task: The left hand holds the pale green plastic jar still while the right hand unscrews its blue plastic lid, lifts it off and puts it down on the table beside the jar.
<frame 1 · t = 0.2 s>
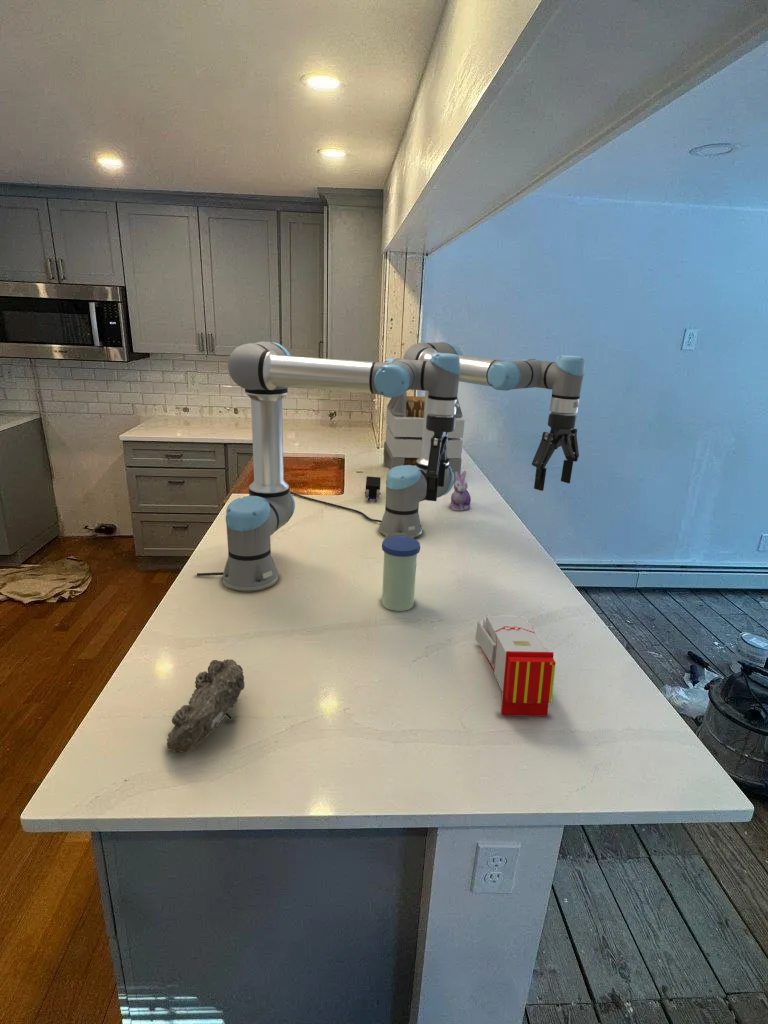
left hand: (435, 493, 154), 28 cm above the counter, tool pointing down, fingers open, 13 cm apart
right hand: (552, 485, 166), 28 cm above the counter, tool pointing down, fingers open, 13 cm apart
jar: (397, 603, 153), on the counter
figurine character: (372, 498, 236), on the counter
grey boxy piece: (419, 473, 275), on the counter
toy: (507, 674, 125), on the counter
lid: (401, 544, 147), point 17 cm above the counter, screwed on, not yet turned
figurine: (460, 507, 229), on the counter
fossil: (212, 717, 108), on the counter
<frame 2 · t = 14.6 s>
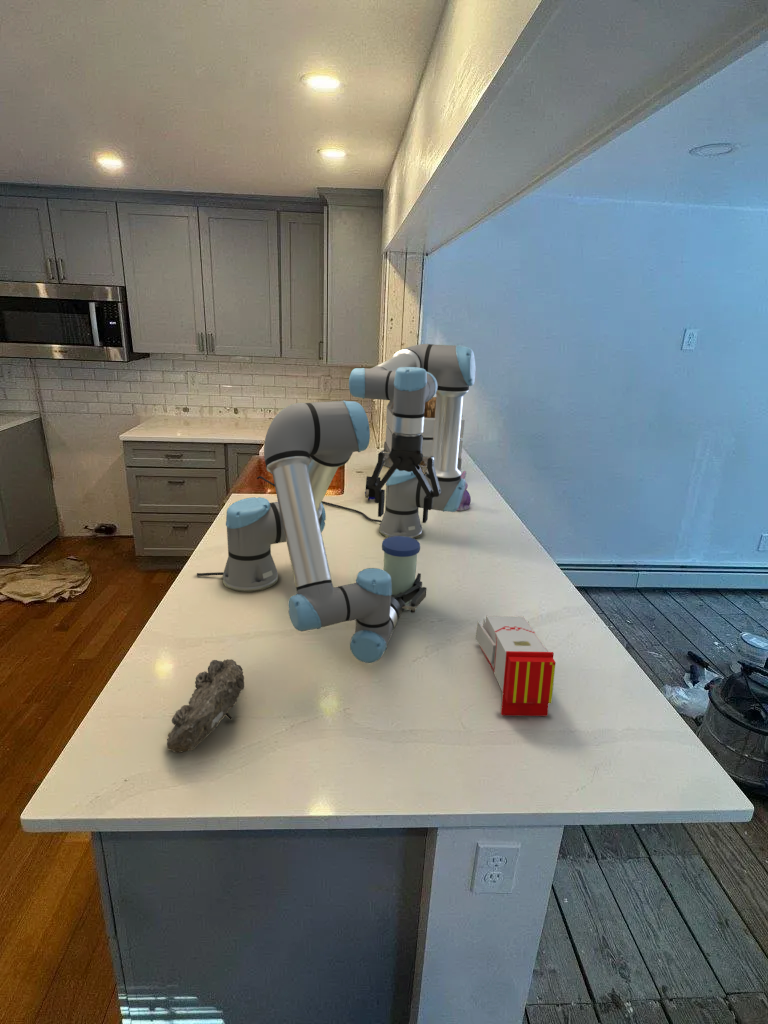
left hand: (402, 575, 155), 6 cm above the counter, tool horizontal, fingers closed on jar, 9 cm apart
right hand: (402, 518, 145), 24 cm above the counter, tool pointing down, fingers open, 11 cm apart
jar: (397, 603, 153), on the counter, touching left hand
everything else where it was.
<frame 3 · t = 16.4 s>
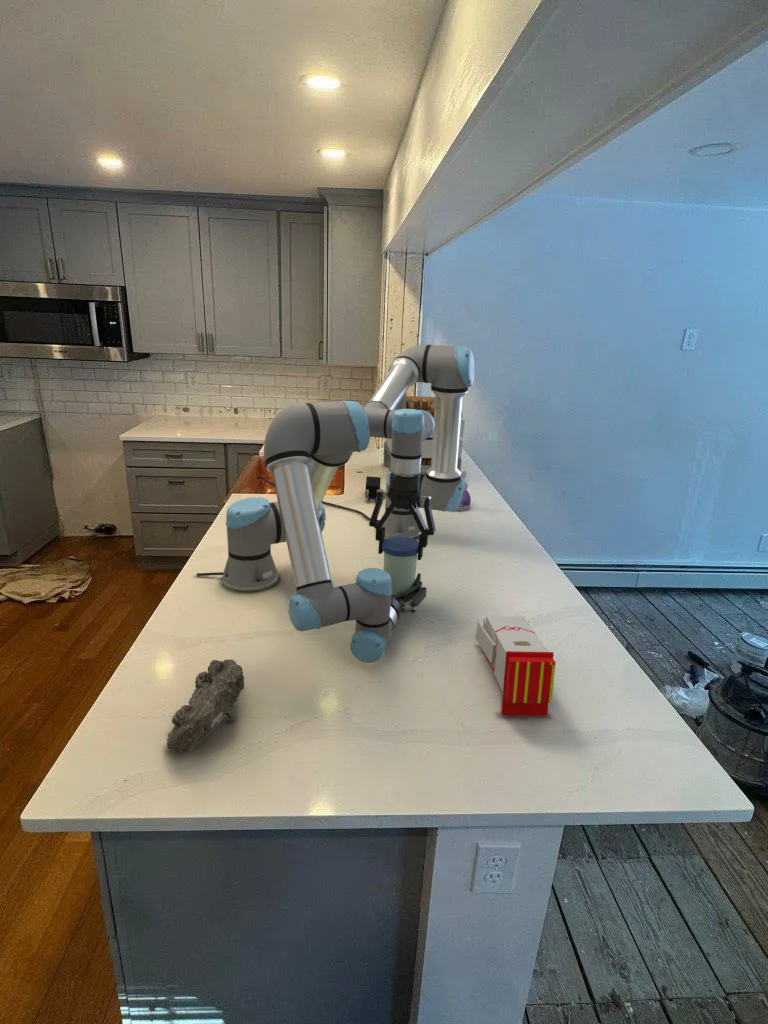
left hand: (402, 575, 155), 6 cm above the counter, tool horizontal, fingers closed on jar, 9 cm apart
right hand: (400, 555, 148), 14 cm above the counter, tool pointing down, fingers closed on lid, 10 cm apart
jar: (397, 603, 153), on the counter, touching left hand
lid: (401, 544, 147), point 17 cm above the counter, screwed on, not yet turned, touching right hand
everything else where it was.
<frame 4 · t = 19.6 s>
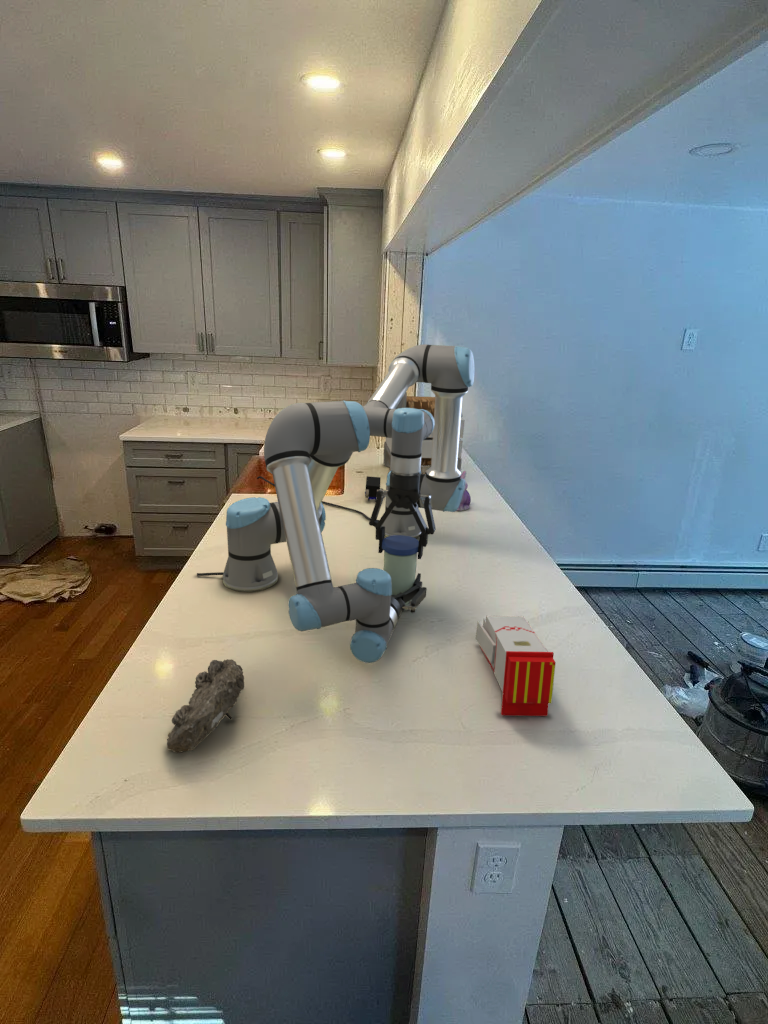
left hand: (402, 575, 155), 6 cm above the counter, tool horizontal, fingers closed on jar, 9 cm apart
right hand: (400, 554, 148), 14 cm above the counter, tool pointing down, fingers closed on lid, 10 cm apart
jar: (397, 603, 153), on the counter, touching left hand
lid: (401, 543, 147), point 17 cm above the counter, turned 91° so far, risen 0.3 cm, still on its thread, touching right hand
everything else where it was.
when the right hand's fingers open (0 cm above the counter, at t = 26.4 s): lid drops 2 cm, point 1 cm above the counter.
when the left hand's fingers open (6 cm above the counter, at t = 28.2 s): jar stays where it is, on the counter.
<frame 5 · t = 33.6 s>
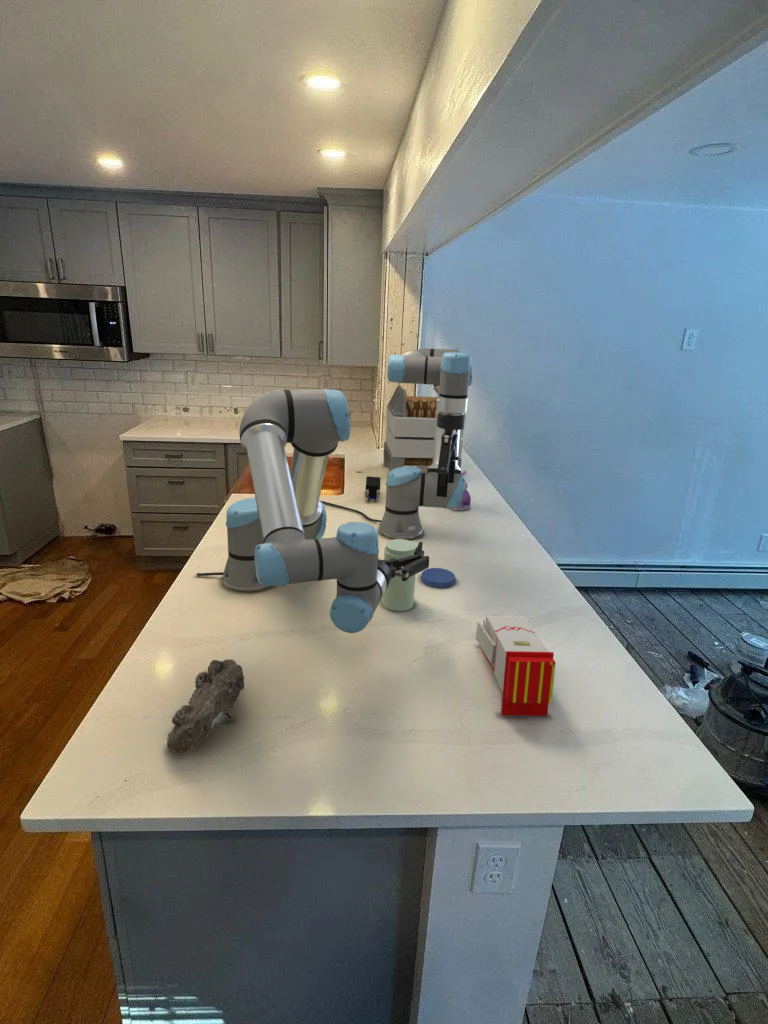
left hand: (392, 543, 136), 22 cm above the counter, tool horizontal, fingers open, 13 cm apart
right hand: (445, 489, 158), 28 cm above the counter, tool pointing down, fingers open, 13 cm apart
jar: (397, 603, 153), on the counter
lid: (438, 576, 167), point 1 cm above the counter, off its thread
everything else where it was.
at the end: lid came off its thread; lid point 1.3 cm above the counter; the left hand is holding nothing; the right hand is holding nothing; jar tilted 0°; jar moved 0.0 cm from its start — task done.
